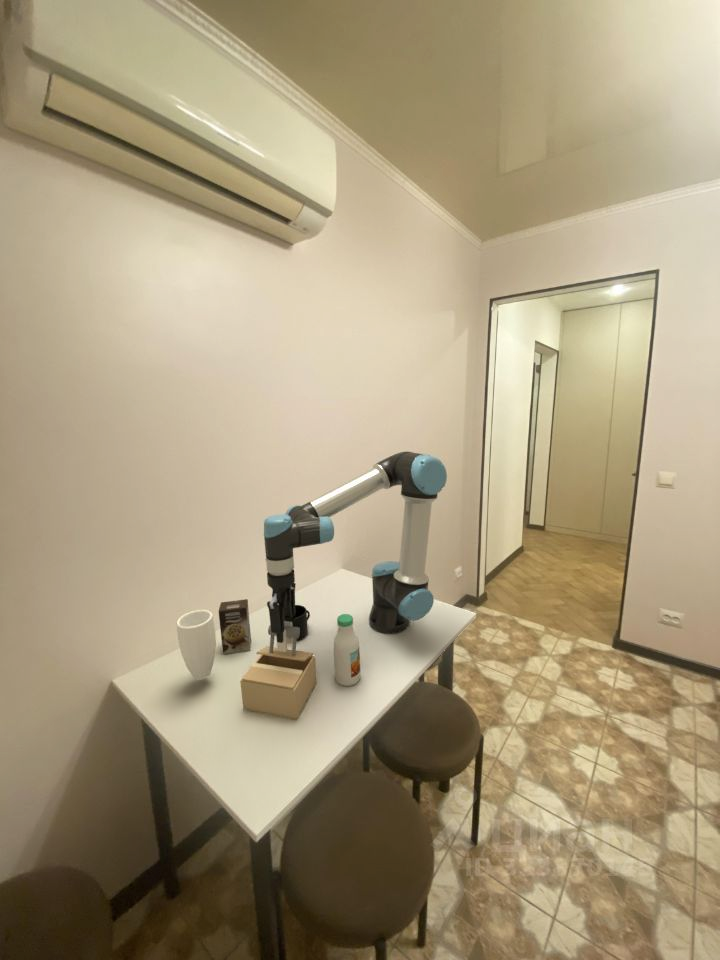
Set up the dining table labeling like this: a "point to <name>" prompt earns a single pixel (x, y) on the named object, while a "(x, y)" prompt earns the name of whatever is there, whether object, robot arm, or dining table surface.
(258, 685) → the carton
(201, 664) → the cup
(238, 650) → the coffee box
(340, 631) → the milk bottle
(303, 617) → the mug
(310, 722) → the dining table surface
